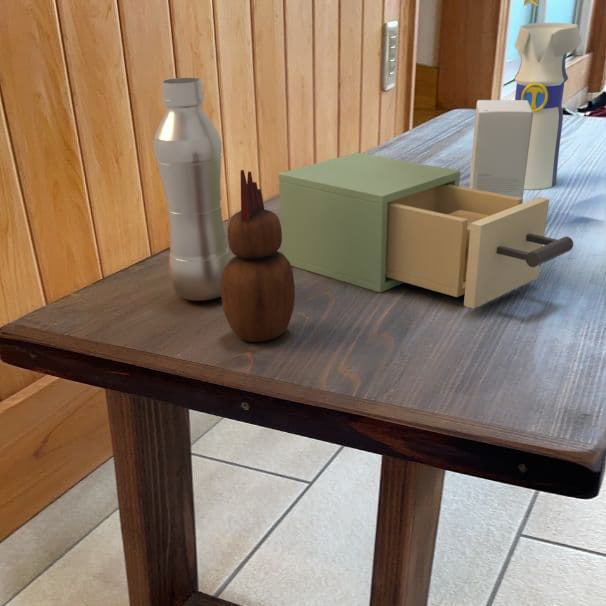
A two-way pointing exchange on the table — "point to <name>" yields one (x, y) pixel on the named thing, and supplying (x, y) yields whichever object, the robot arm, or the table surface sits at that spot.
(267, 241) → the wooden figurine
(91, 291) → the table surface
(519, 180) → the small box
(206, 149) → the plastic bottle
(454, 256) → the drawer
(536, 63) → the spray bottle
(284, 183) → the cabinet
